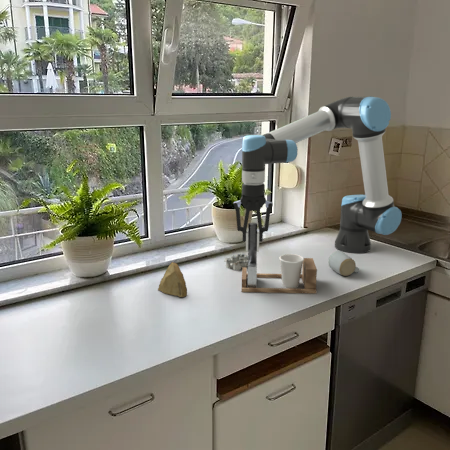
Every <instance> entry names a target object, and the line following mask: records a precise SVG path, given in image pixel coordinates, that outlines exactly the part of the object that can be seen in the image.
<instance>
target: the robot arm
mask: <svg viewBox="0 0 450 450" xmlns="http://www.w3.org/2000/svg"><path fill="white" fill-rule="evenodd" d="M391 118H392V113H391V108H390V106H389V103H388V102H387V101H386V100H384V99H383V98H381V97H378V96H372V95H371V96H346V97H343V98H340V99H337V100H335V101H332V102H330V103H328V104H325V105H323V106H320V108H319V109H318V111H316V112H313V113H311V114H308V115H306V116H303V118H300V119H298V120H295V121H292V122H291V123H287V124H286V125H284V126H281V127H279V128H276V129H273V130H272V131H270V132H267V133H265V134H262V135H260V134H257V135H256V134H251V135H244V137H243V138H242V147H241V152H242V153H241V156H242V157H241V160H242V161H241V165H242V166H241V183H242V184H241V197H240V200H236V201H235V200H234V202H233V207H234V209H235V218H236V219H235V220H236V229H237V231H238V232H241V233H242V242H245V252H247V253H248V229H247V228H248V223H249V219H250V218H249V217H250V212H252V211H254V212H256V213H255V214H256V218H257V228H258V230H257V253H258V252H260V243H261V242H263V240H264V239H263V238H264V237H263V236H264V232H268V231H269V225H270V216H271V209H272V208H273V205H274V203H273V201H268V200H267V199H266V197H265V196H266V195H265V194H266V193H265V192H266V191H265V187H266V185H265V182H266V165H269V164H283V163H284V164H287V163H292V162H294V161H295V160H296V159H297V156H298V145H297V143H300V142H302V141H304V140H306V139H309V138H311V137H313V136H315V135H318V134H319V133H322V132H325V131H327V132H331V131H333V130H336V129H351V132H352V138H354V140H356V141H357V144H358V151H359V153H358V154H359V159H360V165H361V166H360V168H361V173H362V174H361V175H362V181H363V188H364V194H351V195H350V194H349V195H345V196H343V197H342V199H341V205H340V221H339V222H340V223H339V230H338V232H337V236H336V237H335V240H334V248H336V249H337V251H342V252H344V253H352V254H362V253H367V252H370V251H371V248H372V242H371V239H370V234H369V231H371V232H374V233H376V234H378V235H379V234H380V235H384V236H388V235H391V234H392V233H394V232H396V231H397V230H398V227H400V224H401V223H402V216H403V215H402V211H401V209H400V208H398V207H397V206H395V201H394V198H393V197H392V196H391V195H389V188H388V180H387V171H386V170H387V169H386V161H385V160H386V159H385V154H384V142H383V135H384V134H385V133H386V132H387V131H386V129H387V127H388V126H389V124H390V121H391ZM241 204H242V206H243V207H244V209H245V213H244V220H243V225H242V223H241V222H242V221H241V211H240V208H241ZM263 206H265V208H266V211H265V217H264V218H265V220H264V226H263V221H262V216H261V209H262V208H263Z"/></svg>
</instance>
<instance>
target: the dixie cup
mask: <svg viewBox="0 0 450 450" xmlns="http://www.w3.org/2000/svg"><path fill="white" fill-rule="evenodd" d="M304 258H305V257H303V256H302V255H299V254H295V253H286V254H282V255H280V256H279V258H278V259H279V261H280V262H279V263H280V272H281V273H280V274H281V275H282V278H281V283H282V284H281V285H282V286H283V288H292V289H297V288H298V287H299V286H300V279H301V278H300V275H301V274H302V266H303V260H304Z"/></svg>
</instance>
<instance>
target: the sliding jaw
mask: <svg viewBox="0 0 450 450" xmlns="http://www.w3.org/2000/svg"><path fill="white" fill-rule="evenodd" d="M247 228H248V229H247V231H248V252H247V255H248V265H247V273H248V277H247V288H257V279H258V278H257V273H258V272H257V270H258V269H257V268H258V267H257V265H258V263H257V262H258V261H257V258H258V252H257V231H258V222H248V224H247Z"/></svg>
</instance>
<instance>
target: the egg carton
mask: <svg viewBox="0 0 450 450" xmlns="http://www.w3.org/2000/svg"><path fill="white" fill-rule="evenodd" d="M223 262H225V266H226V268H227V269H232V270H234V271H242V267H245V268H247V266H248V254H246V253H243V252H241V251H240V252H238V253H237V254H235V255H232V256H230V257H225V258H224V261H223Z"/></svg>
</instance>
